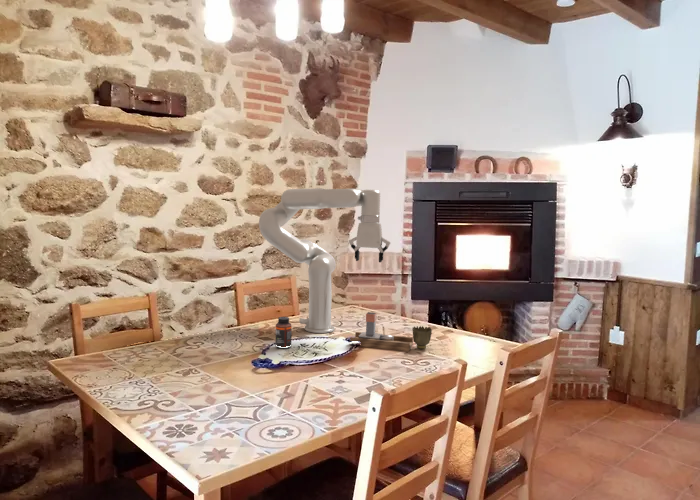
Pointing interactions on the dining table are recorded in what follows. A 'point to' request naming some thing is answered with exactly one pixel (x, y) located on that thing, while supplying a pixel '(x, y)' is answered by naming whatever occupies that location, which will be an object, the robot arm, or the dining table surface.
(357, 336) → the board
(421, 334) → the cup
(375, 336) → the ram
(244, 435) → the dining table surface
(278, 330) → the supplement bottle
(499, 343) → the dining table surface
